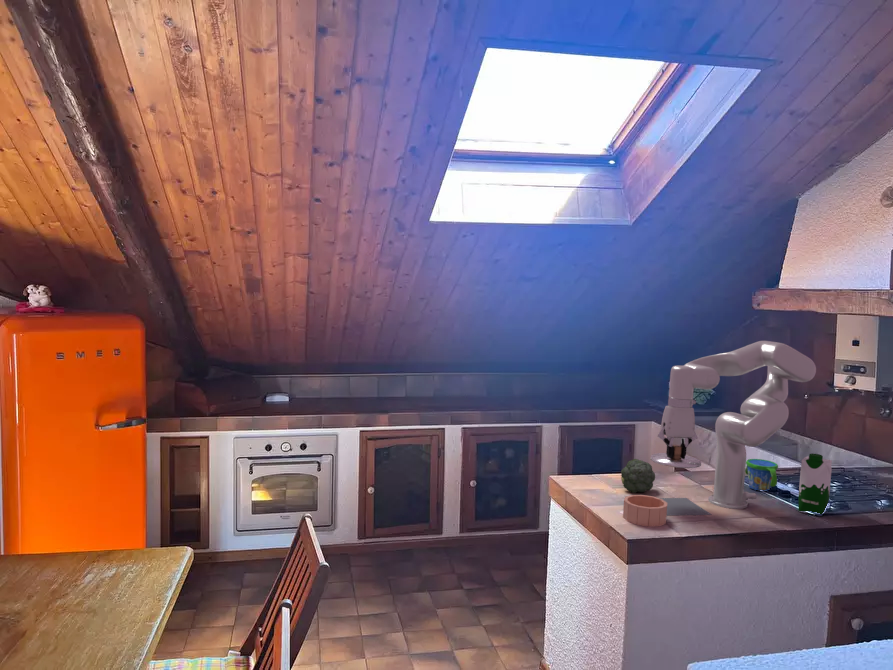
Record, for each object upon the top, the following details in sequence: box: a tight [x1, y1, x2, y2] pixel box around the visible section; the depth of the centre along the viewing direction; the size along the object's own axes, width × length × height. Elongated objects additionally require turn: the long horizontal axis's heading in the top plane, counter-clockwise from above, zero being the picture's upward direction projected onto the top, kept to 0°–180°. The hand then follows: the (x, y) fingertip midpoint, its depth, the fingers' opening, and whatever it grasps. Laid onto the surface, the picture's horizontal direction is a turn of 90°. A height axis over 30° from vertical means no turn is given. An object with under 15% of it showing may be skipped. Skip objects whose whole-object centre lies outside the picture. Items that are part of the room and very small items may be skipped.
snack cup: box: [745, 458, 779, 491], centre depth 259 cm, size 16×10×10 cm
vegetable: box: [620, 458, 656, 494], centre depth 253 cm, size 12×13×15 cm
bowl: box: [622, 494, 668, 527], centre depth 222 cm, size 13×13×6 cm
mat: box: [659, 497, 712, 517], centre depth 235 cm, size 17×17×1 cm
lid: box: [650, 444, 702, 469], centre depth 233 cm, size 16×16×5 cm
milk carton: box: [797, 453, 833, 514], centre depth 235 cm, size 9×9×20 cm
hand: (675, 457), depth 233 cm, fingers closed on lid, 3 cm apart
